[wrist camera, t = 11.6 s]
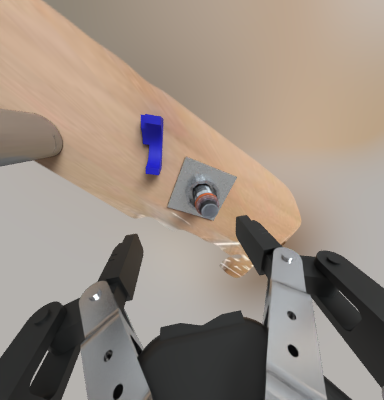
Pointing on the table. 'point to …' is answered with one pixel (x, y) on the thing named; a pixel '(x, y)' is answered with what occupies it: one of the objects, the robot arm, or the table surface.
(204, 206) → the supplement bottle
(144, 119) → the blue notched bracket
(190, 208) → the duct panel
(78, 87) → the table surface
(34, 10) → the table surface
